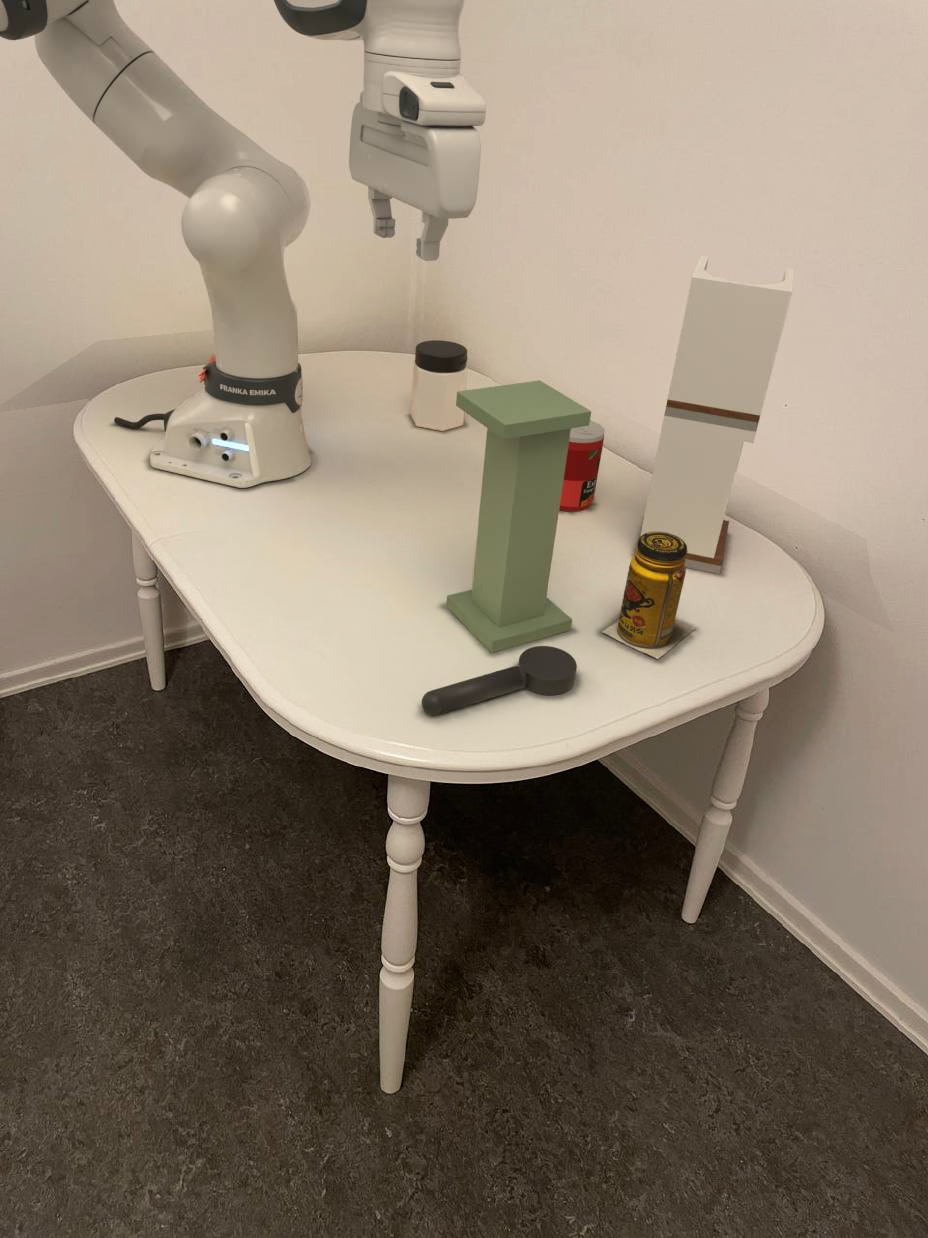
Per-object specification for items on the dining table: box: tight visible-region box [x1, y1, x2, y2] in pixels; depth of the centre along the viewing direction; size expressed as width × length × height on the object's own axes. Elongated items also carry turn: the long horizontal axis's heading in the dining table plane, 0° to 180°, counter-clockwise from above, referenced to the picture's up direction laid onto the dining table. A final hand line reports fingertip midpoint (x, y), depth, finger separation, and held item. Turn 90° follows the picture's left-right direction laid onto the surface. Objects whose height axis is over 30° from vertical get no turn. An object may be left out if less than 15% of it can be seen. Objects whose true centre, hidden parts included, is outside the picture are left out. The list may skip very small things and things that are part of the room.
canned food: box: [559, 419, 606, 513], centre depth 133 cm, size 8×8×11 cm
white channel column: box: [639, 255, 795, 575], centre depth 117 cm, size 11×11×35 cm
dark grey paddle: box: [421, 645, 578, 716], centre depth 97 cm, size 18×6×2 cm, turn 120°
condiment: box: [601, 531, 696, 660], centre depth 106 cm, size 7×8×12 cm
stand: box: [445, 380, 592, 654], centre depth 102 cm, size 12×10×26 cm
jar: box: [410, 339, 469, 432], centre depth 153 cm, size 9×8×12 cm
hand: (404, 247), depth 97 cm, fingers open, 8 cm apart
